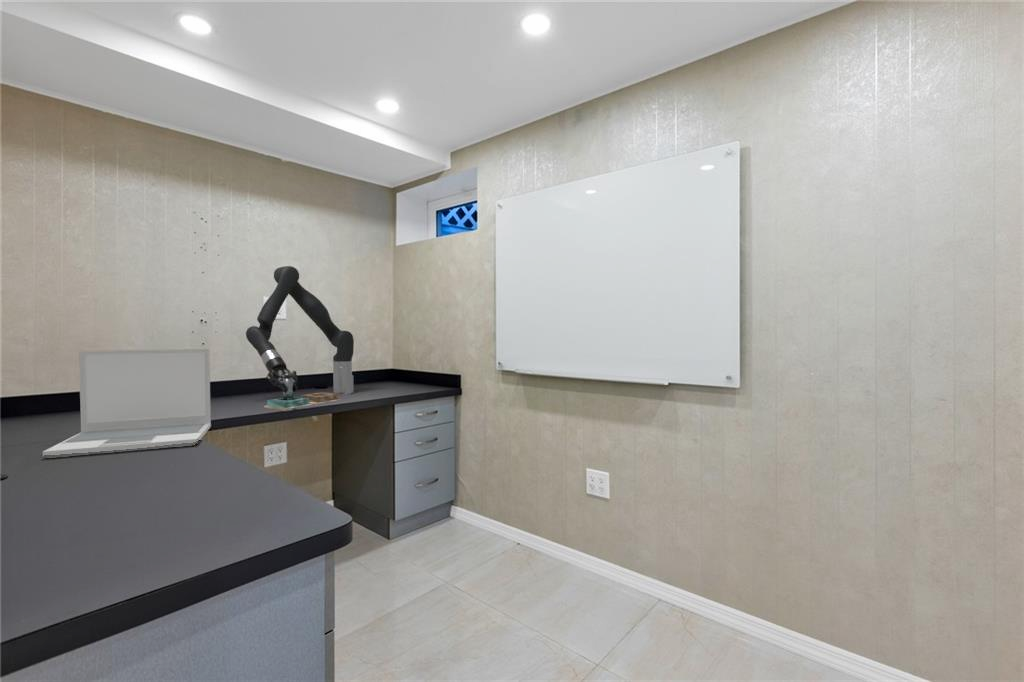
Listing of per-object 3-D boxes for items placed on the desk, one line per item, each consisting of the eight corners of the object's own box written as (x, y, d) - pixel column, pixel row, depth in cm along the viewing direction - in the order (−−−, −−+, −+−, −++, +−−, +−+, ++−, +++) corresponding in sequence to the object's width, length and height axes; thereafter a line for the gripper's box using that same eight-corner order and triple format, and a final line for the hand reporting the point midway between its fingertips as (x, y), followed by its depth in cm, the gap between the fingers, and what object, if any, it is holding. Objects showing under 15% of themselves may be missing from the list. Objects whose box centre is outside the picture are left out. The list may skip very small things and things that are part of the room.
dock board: (320, 399, 233) (320, 391, 233) (341, 401, 226) (341, 394, 226) (264, 407, 208) (264, 399, 208) (286, 411, 201) (285, 402, 200)
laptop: (42, 461, 128) (39, 355, 127) (82, 439, 152) (80, 350, 151) (197, 447, 142) (195, 352, 141) (211, 429, 166) (209, 348, 165)
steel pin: (289, 401, 213) (289, 372, 213) (297, 402, 211) (296, 373, 210) (279, 403, 209) (279, 373, 209) (286, 404, 206) (286, 374, 206)
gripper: (262, 357, 207) (280, 387, 201) (291, 355, 219) (309, 383, 214) (254, 368, 210) (272, 398, 204) (284, 366, 222) (301, 394, 216)
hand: (291, 390), depth 209 cm, fingers closed on steel pin, 4 cm apart
